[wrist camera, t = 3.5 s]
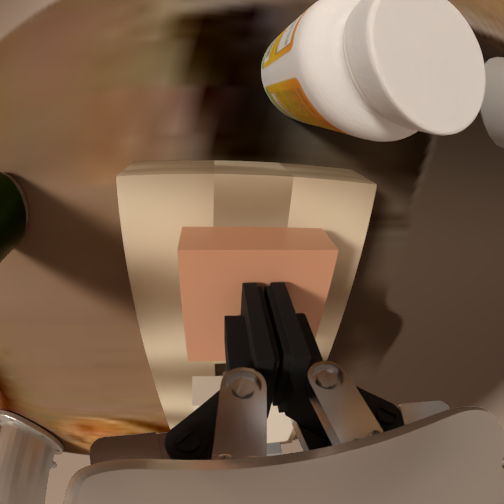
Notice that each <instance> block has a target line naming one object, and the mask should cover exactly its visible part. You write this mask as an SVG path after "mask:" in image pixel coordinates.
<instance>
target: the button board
mask: <svg viewBox="0 0 504 504" xmlns="http://www.w3.org/2000/svg"><path fill="white" fill-rule="evenodd" d="M116 181H117V193H118V204H119V213H120V222H121V230H122V237H123V244H124V251H125V257H126V263H127V269H128V275H129V280H130V286H131V291H132V296H133V301H134V305H135V310H136V315H137V319H138V323H139V327H140V332H141V336H142V340H143V344H144V347H145V351H146V355H147V358H148V362H149V366H150V369H151V372H152V376H153V379H154V382H155V386H156V389H157V392H158V395H159V398H160V401H161V404H162V407H163V410H164V413H165V416H166V418H167V421H168V424H169V427H170V429H172V428H173V427H175V426H176V425H177V424H178V423H180V422H181V421H182V420H184V419H185V418H186V417H187V416H189V415H190V414H191V413H192V412H193V407H192V376H223V372H226V371H227V369H226V361H188V356H187V348H186V340H185V332H184V323H183V313H182V303H181V292H180V280H179V267H178V252H177V249H178V244H179V239H180V235H181V230H182V227H289V228H322V229H323V230H324V232H325V233H326V234H327V235H328V237H329V238H330V239H331V241H332V242H333V243H334V244H335V246H336V247H337V248H338V250H339V251H338V255H337V260H336V264H335V268H334V272H333V276H332V280H331V284H330V288H329V292H328V296H327V299H326V303H325V307H324V311H323V314H322V318H321V321H320V325H319V328H318V332H317V335H316V338H315V340H316V343H317V345H318V348H319V351H320V353H321V356H322V358H323V361H327V359H328V356H329V354H330V351H331V348H332V345H333V343H334V340H335V337H336V334H337V331H338V328H339V325H340V322H341V319H342V316H343V313H344V310H345V307H346V304H347V301H348V298H349V294H350V291H351V288H352V285H353V281H354V278H355V274H356V271H357V267H358V264H359V260H360V256H361V252H362V249H363V245H364V241H365V237H366V233H367V229H368V225H369V220H370V216H371V211H372V207H373V202H374V198H375V193H376V188H377V184H375V183H374V182H372V181H370V180H368V179H367V178H365V177H363V176H362V175H360V174H358V173H356V172H355V171H353V170H350V169H342V168H333V167H323V166H312V165H301V164H287V163H272V162H251V161H214V160H183V161H147V162H133V163H132V164H130V165H129V166H128V167H127V168H126V169H124V170H123V171H122V172H121V173H119V174H118V175H117V176H116ZM295 434H296V432H295V430H294V428H293V430H292V432H291V434H290V436H289V439H288V441H282V442H280V444H285V443H291V442H292V441H293V439H294V436H295Z"/></svg>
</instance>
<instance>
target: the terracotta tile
mask: <svg viewBox="0 0 504 504" xmlns="http://www.w3.org/2000/svg"><path fill="white" fill-rule="evenodd" d="M338 251H339V250H338V248H337V247H336V246H335V244H334V243H333V242H332V241H331V239H330V238H329V237H328V235H327V234H326V233H325V232H324V230H323V229H322V228H289V227H182V230H181V235H180V239H179V244H178V249H177V252H178V267H179V280H180V292H181V303H182V313H183V323H184V332H185V340H186V348H187V356H188V361H226V357H225V341H224V317H225V316H233V315H240V314H241V297H242V283H257V286H262V289H263V293H264V290H265V286H270V283H271V282H284V283H285V285H286V288H287V290H288V293H289V296H290V298H291V301H292V304H293V307H294V309H295V312H296V313H304V314H305V315H306V317H307V320H308V322H309V325H310V327H311V330H312V333H313V335H314V338H316V335H317V332H318V328H319V325H320V321H321V318H322V314H323V311H324V307H325V303H326V299H327V296H328V292H329V288H330V284H331V280H332V276H333V272H334V268H335V264H336V260H337V255H338Z"/></svg>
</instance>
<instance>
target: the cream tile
mask: <svg viewBox="0 0 504 504" xmlns="http://www.w3.org/2000/svg"><path fill="white" fill-rule="evenodd" d="M226 373H227V371H226V372H223V376H224V375H225V374H226ZM223 376H192V407H193V412H194V411H195V410H196V409H197V408H198V407H200V406H201V405H202V404H203V403H204V402H206V401H207V400H208V399H209V398H210V397H212V396H213V395H214V394H215V393H216V392H218V391H219V390H220V386H221V381H222V378H223ZM292 430H293V425H292V422H291V418H289V417H287V416H286V415H285V412H283V413H279V411H278V407H277V406H273V405H272V404H271V408H270V412H269V416H268V418H267V443H274V442H282V441H288V439H289V436H290V434H291V432H292Z"/></svg>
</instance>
